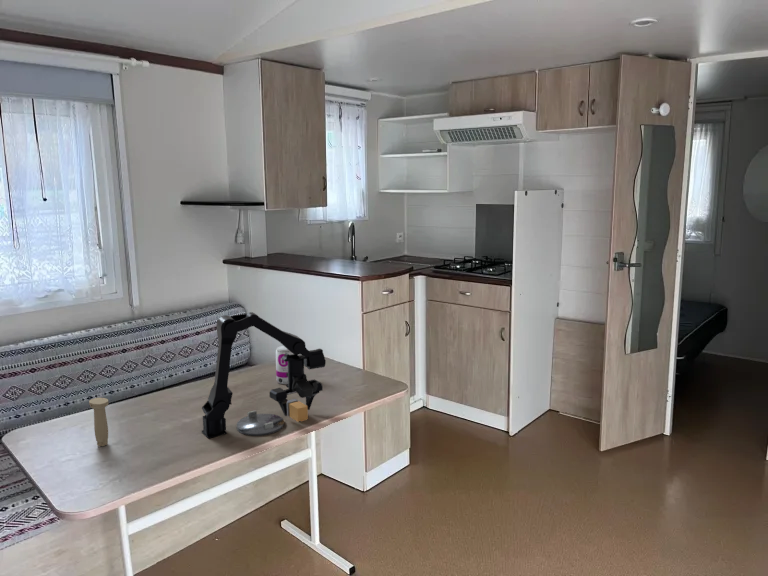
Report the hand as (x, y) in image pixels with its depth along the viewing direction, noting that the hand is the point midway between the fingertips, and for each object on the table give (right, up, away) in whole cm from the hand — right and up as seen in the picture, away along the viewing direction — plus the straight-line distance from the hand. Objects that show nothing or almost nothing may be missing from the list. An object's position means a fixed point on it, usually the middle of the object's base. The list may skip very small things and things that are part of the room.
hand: (297, 412), depth 212 cm
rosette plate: (-12, -3, -7) cm, 14 cm away
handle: (-59, -6, -22) cm, 64 cm away
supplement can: (-10, +5, +37) cm, 39 cm away
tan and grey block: (0, -2, 0) cm, 2 cm away
